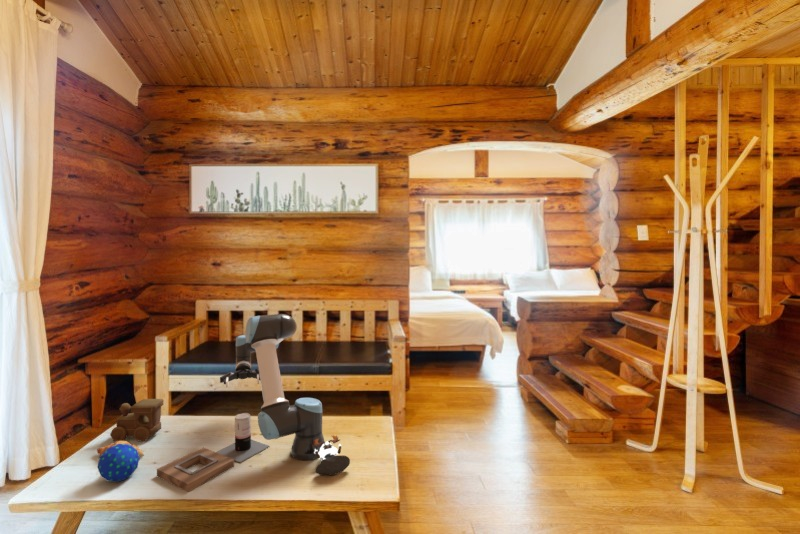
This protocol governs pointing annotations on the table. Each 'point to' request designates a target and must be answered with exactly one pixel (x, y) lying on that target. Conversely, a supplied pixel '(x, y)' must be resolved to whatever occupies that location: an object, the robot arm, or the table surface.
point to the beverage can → (242, 432)
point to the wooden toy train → (138, 420)
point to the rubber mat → (242, 456)
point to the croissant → (103, 449)
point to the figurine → (330, 458)
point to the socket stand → (190, 480)
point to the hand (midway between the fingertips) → (242, 382)
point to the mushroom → (118, 462)
